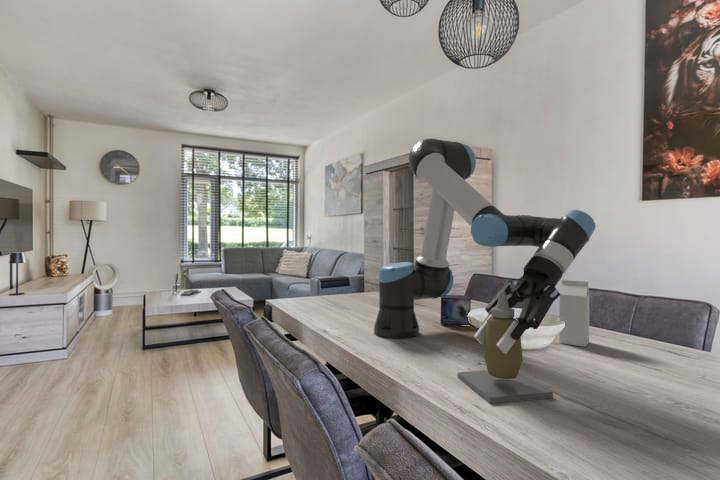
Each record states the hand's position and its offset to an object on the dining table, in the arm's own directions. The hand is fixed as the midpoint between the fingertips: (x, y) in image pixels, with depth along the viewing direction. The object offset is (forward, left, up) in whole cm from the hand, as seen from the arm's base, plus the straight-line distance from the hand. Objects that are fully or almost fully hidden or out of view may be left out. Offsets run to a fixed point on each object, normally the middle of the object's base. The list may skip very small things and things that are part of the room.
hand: (489, 344), depth 82 cm
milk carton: (-28, +44, -10) cm, 53 cm away
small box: (-58, +19, -10) cm, 62 cm away
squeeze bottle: (-1, +3, -7) cm, 8 cm away
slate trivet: (-1, +3, -10) cm, 10 cm away
